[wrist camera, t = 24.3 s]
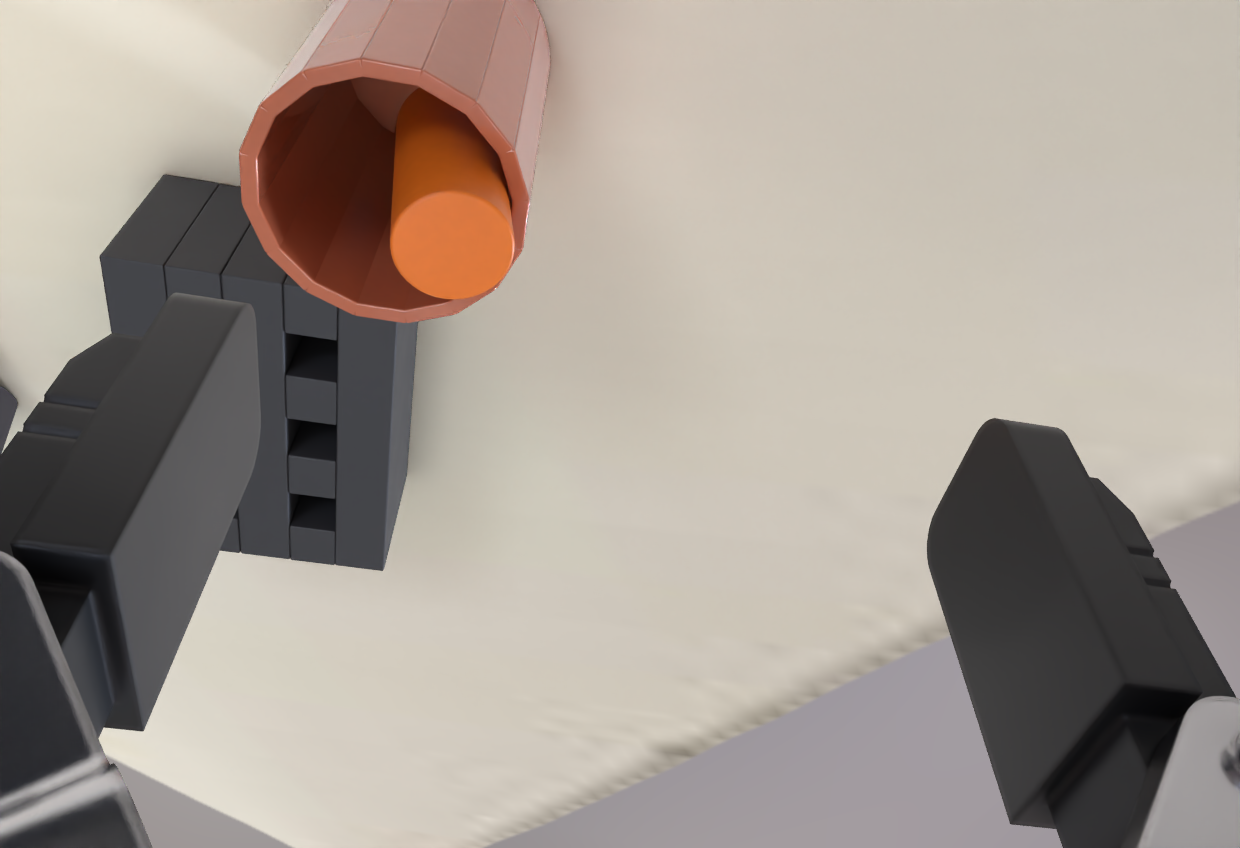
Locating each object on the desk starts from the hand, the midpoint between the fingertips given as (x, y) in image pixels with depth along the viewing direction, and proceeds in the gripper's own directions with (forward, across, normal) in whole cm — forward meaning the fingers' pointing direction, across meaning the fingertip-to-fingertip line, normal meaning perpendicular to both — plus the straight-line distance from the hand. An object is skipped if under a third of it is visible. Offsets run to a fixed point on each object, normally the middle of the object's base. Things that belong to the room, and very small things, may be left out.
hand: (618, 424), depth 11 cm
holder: (+26, +10, +19) cm, 34 cm away
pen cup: (+26, +5, +6) cm, 27 cm away
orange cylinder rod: (+25, +5, +6) cm, 27 cm away
